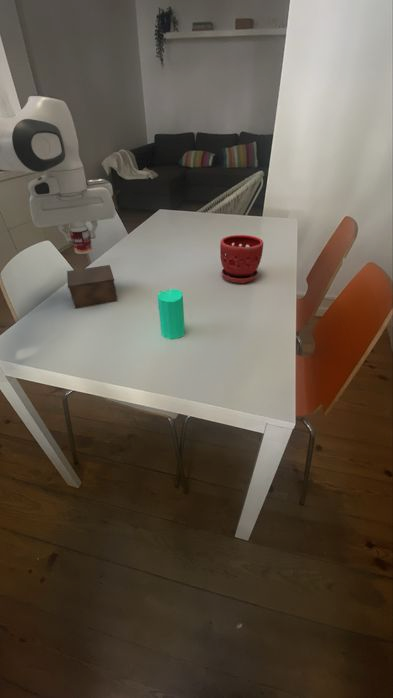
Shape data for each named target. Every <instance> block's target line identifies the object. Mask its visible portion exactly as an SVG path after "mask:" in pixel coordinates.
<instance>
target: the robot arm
mask: <svg viewBox="0 0 393 698" xmlns="http://www.w3.org/2000/svg"><path fill="white" fill-rule="evenodd" d="M79 148H80V145H79V139H78V135H77V130H76V126H75V123H74V120H73V116H72V113H71V111H70V109H69V106H68V105H67V102H65V101H64V100H62V98H60V97H56V96H53V95H46V94H45V95H44V94H32V95H29V96H28V97H27V102H26V104H25V105H24V106H23V108H22V109H20V110H19V111H18V112H17V113H15V114H13V116H0V173H3V172H4V173H5V172H6V173H7V172H18V173H32V174H39V173H43V172H44V174H42V175H41V176H39V177H37V178H35V179H32V180H30V182H28V185H27V189H28V192H29V194H30V196H29V210H30V215H31V220H32V223H33V225H34V226H35V227H36V228H38V229H41V228H49V227H50V228H51V227H56V226H57V229H58V231H59V232H60V233H61V234H62V235H63V236H64V238H65V242H66V243H69V242H70V243H72V238H71V234H70V232H66V231H65V225H69V224H72V223H73V222H74V221H81V222H85V223H86V222H87V223H88V222H90V223H91V225H92V227H91V230H89V229H88V230H89V235H90V239H91V240H92V239H97V235H96V231H97V228H98V221H103V220H111V219H114V218H115V217H116V215H117V212H116V207H115V204H114V200H113V195H114V191H113V186H112V183H111V182H110V181H109V180H106V179H105V178H98V179H87V178H86V172H85V169H84V164H83V162H82V160H81V156H80V151H79Z"/></svg>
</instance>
